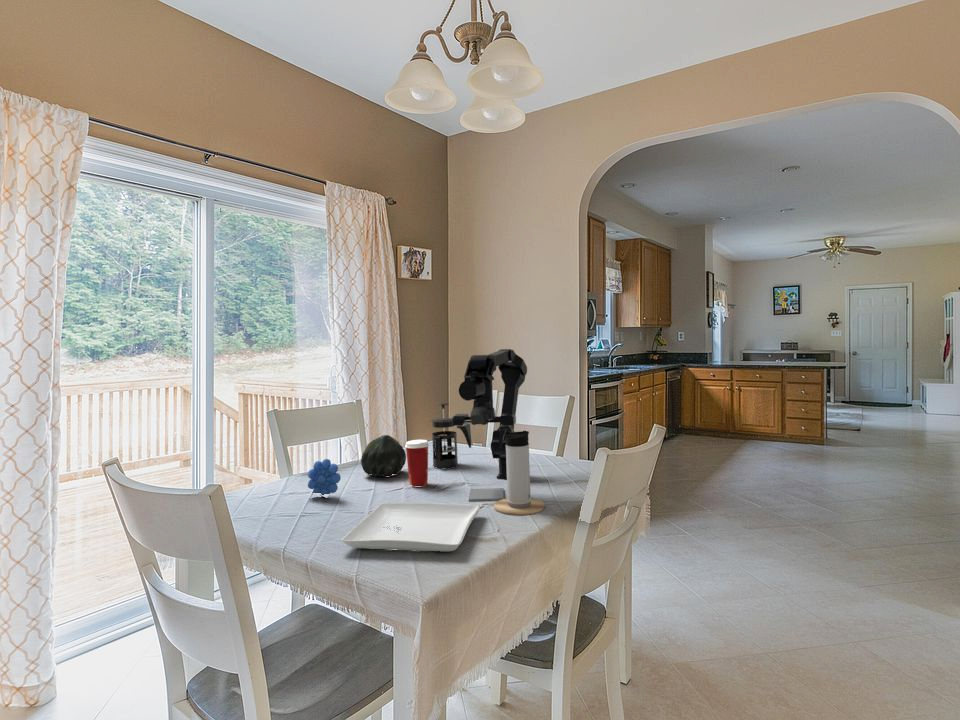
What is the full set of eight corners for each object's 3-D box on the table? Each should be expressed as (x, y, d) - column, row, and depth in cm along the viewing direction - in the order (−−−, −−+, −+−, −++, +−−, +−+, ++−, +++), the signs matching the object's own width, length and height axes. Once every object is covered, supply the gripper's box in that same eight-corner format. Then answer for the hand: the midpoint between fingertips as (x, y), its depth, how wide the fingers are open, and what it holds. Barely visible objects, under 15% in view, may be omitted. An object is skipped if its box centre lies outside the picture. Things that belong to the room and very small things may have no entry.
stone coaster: (470, 490, 162) (470, 488, 162) (503, 489, 161) (503, 488, 161) (468, 501, 152) (468, 499, 152) (503, 500, 151) (503, 498, 151)
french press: (439, 461, 200) (437, 401, 199) (462, 462, 197) (460, 401, 196) (426, 469, 189) (423, 405, 188) (450, 471, 186) (448, 405, 185)
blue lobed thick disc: (349, 495, 162) (347, 456, 161) (336, 502, 156) (334, 461, 155) (318, 492, 166) (316, 454, 165) (303, 499, 160) (301, 459, 159)
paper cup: (435, 484, 170) (433, 440, 170) (417, 489, 165) (415, 445, 164) (419, 480, 176) (417, 438, 175) (401, 485, 170) (399, 442, 170)
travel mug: (536, 505, 144) (533, 432, 144) (515, 510, 141) (513, 435, 140) (523, 499, 150) (521, 429, 149) (503, 503, 147) (501, 432, 146)
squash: (367, 453, 194) (361, 428, 183) (408, 453, 194) (405, 427, 184) (362, 487, 184) (356, 462, 173) (405, 487, 184) (402, 462, 174)
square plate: (460, 561, 113) (459, 543, 113) (339, 556, 118) (338, 539, 117) (481, 517, 140) (481, 502, 139) (382, 514, 144) (381, 500, 144)
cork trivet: (498, 497, 154) (498, 496, 154) (547, 499, 151) (547, 497, 151) (489, 514, 140) (489, 512, 140) (542, 516, 137) (542, 514, 137)
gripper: (446, 400, 154) (448, 453, 155) (509, 399, 150) (511, 454, 151) (455, 395, 165) (457, 445, 166) (515, 394, 161) (517, 446, 162)
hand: (485, 447), depth 161 cm, fingers open, 9 cm apart
